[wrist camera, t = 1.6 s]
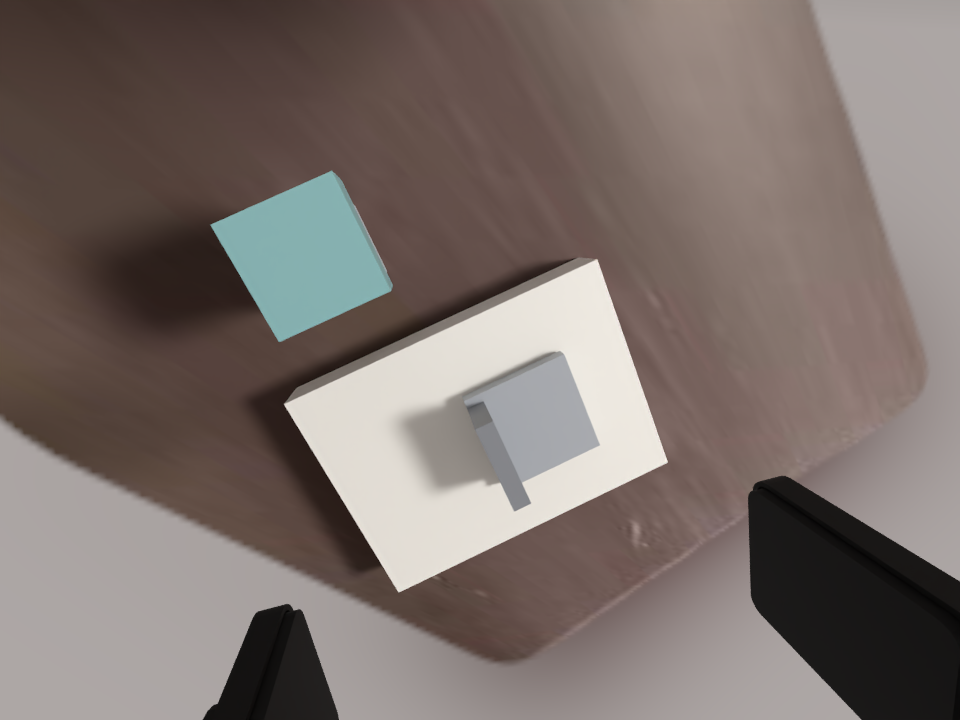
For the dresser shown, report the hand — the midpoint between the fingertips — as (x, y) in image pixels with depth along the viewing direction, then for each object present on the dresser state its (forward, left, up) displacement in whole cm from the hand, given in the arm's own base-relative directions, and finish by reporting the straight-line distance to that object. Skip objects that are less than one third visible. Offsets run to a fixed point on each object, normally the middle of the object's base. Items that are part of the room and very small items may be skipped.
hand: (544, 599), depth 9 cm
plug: (+3, -8, -21) cm, 23 cm away
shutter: (-3, +5, -17) cm, 18 cm away
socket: (0, +5, -21) cm, 21 cm away
